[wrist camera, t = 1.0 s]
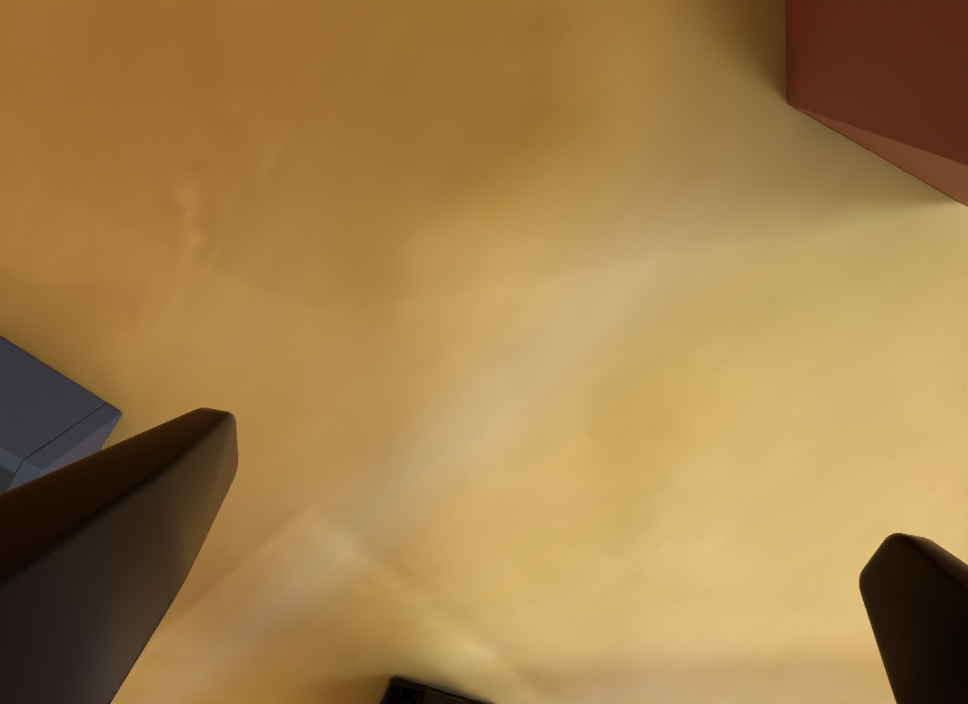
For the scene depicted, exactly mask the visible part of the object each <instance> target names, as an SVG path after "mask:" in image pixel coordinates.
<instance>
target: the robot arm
mask: <svg viewBox="0 0 968 704" xmlns="http://www.w3.org/2000/svg"><path fill="white" fill-rule="evenodd" d="M237 466H238V448H237V430H236V420H235V417H234V415H233V414H231V413H230V412H227V411H222V410H216V409H211V408H199V409H196V410H194V411H191V412H189V413H187V414H184V415H182V416H180V417H177V418H175V419H173V420H170V421H168V422H166V423H164V424H161V425H159V426H157V427H154V428H152V429H150V430H147V431H145V432H143V433H140V434H138V435H136V436H134V437H131V438H129V439H127V440H124V441H122V442H120V443H117V444H115V445H113V446H110V447H108V448H106V449H104V450H101V451H99V452H97V453H94V454H92V455H90V456H87V457H85V458H83V459H80V460H78V461H76V462H74V463H71V464H69V465H67V466H64V467H62V468H60V469H57V470H55V471H53V472H50V473H48V474H46V475H44V476H41V477H39V478H37V479H34V480H32V481H30V482H27V483H25V484H23V485H20V486H18V487H16V488H14V489H11V490H9V491H7V492H4V493H2V494H0V704H110V703H111V702H112V700H113V698H114V697H115V695H116V694H117V692H118V690H119V689H120V687H121V685H122V684H123V682H124V680H125V679H126V677H127V676H128V674H129V672H130V671H131V669H132V667H133V666H134V664H135V662H136V661H137V659H138V658H139V656H140V654H141V653H142V651H143V649H144V648H145V646H146V645H147V643H148V641H149V640H150V638H151V636H152V635H153V633H154V631H155V630H156V628H157V627H158V625H159V623H160V622H161V620H162V618H163V617H164V615H165V614H166V612H167V610H168V609H169V607H170V605H171V604H172V602H173V600H174V599H175V597H176V595H177V594H178V592H179V590H180V588H181V587H182V585H183V583H184V582H185V580H186V578H187V576H188V574H189V572H190V570H191V568H192V566H193V564H194V562H195V560H196V557H197V555H198V553H199V551H200V549H201V547H202V545H203V543H204V541H205V538H206V536H207V534H208V532H209V530H210V528H211V526H212V524H213V522H214V519H215V517H216V515H217V513H218V511H219V509H220V507H221V505H222V503H223V500H224V498H225V496H226V494H227V492H228V490H229V488H230V486H231V484H232V481H233V479H234V477H235V474H236V471H237ZM859 587H860V592H861V595H862V598H863V601H864V604H865V608H866V611H867V614H868V617H869V620H870V623H871V626H872V629H873V633H874V636H875V639H876V642H877V645H878V648H879V651H880V654H881V658H882V661H883V664H884V667H885V670H886V673H887V676H888V679H889V683H890V686H891V688H892V691H893V694H894V697H895V700H896V703H897V704H968V565H967V564H965V563H964V562H962V561H961V560H960V559H958V558H957V557H955V556H954V555H952V554H951V553H949V552H948V551H946V550H945V549H943V548H942V547H940V546H939V545H937V544H936V543H934V542H933V541H931V540H929V539H927V538H924V537H919V536H914V535H908V534H903V533H894V534H892V535H890V536H888V537H887V538H886V539H885V540H884V541H883V543H882V544H881V545H880V547H879V548H878V549H877V551H876V552H875V553H874V555H873V556H872V557H871V559H870V560H869V562H868V563H867V564H866V566H865V567H864V568H863V570H862V572H861V574H860V578H859ZM379 704H484V703H481V702H478V701H474V700H471V699H468V698H464V697H461V696H458V695H454V694H451V693H448V692H445V691H441V690H438V689H435V688H431V687H428V686H425V685H422V684H418V683H415V682H412V681H408V680H405V679H402V678H397V677H396V678H392V679H390V680H389V682H388V684H387V686H386V689H385V691H384V693H383V695H382V697H381V700H380V702H379Z"/></svg>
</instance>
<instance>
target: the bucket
mask: <svg viewBox="0 0 968 704" xmlns="http://www.w3.org/2000/svg"><path fill="white" fill-rule="evenodd" d="M785 1H786V49H787V97H788V104H789V105H791V106H792V107H794V108H796V109H798V110H799V111H801V112H803V113H804V114H806V115H808V116H810V117H811V118H813V119H815V120H817V121H818V122H820V123H822V124H824V125H825V126H827V127H829V128H831V129H832V130H834V131H836V132H838V133H839V134H841V135H843V136H845V137H846V138H848V139H850V140H852V141H853V142H855V143H857V144H859V145H860V146H862V147H864V148H865V149H867V150H869V151H871V152H872V153H874V154H876V155H878V156H879V157H881V158H883V159H885V160H886V161H888V162H890V163H892V164H893V165H895V166H897V167H899V168H900V169H902V170H904V171H906V172H907V173H909V174H911V175H913V176H914V177H916V178H918V179H919V180H921V181H923V182H925V183H926V184H928V185H930V186H932V187H933V188H935V189H937V190H939V191H940V192H942V193H944V194H946V195H947V196H949V197H951V198H953V199H954V200H956V201H958V202H960V203H961V204H963V205H966V206H968V0H785Z"/></svg>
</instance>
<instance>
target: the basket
mask: <svg viewBox="0 0 968 704" xmlns="http://www.w3.org/2000/svg"><path fill="white" fill-rule="evenodd" d="M121 414H122V413H121V412H120V411H118V410H117V409H115V408H113V407H112V406H110V405H109V404H105V402H104V401H103V400H101V399H99V398H98V397H96V396H94V395H93V394H91V393H90V392H88V391H86V390H85V389H83V388H82V387H80V386H78V385H77V384H75V383H74V382H72V381H70V380H69V379H67V378H66V377H64V376H62V375H61V374H59V373H58V372H56V371H54V370H53V369H51V368H50V367H48V366H46V365H45V364H43V363H42V362H40V361H38V360H37V359H35V358H34V357H32V356H30V355H29V354H27V353H26V352H24V351H22V350H21V349H19V348H18V347H16V346H14V345H13V344H11V343H10V342H8V341H6V340H5V339H3V338H2V337H0V494H2V493H4V492H7V491H9V490H11V489H14V488H16V487H18V486H20V485H23V484H25V483H27V482H30V481H32V480H34V479H37V478H39V477H41V476H44V475H46V474H48V473H50V472H53V471H55V470H57V469H60V468H62V467H64V466H67V465H69V464H71V463H74V462H76V461H78V460H80V459H83V458H85V457H87V456H90V455H92V454H94V453H97V452H99V451H100V449H101V447H102V446H103V444H104V442H105V441H106V439H107V437H108V436H109V434H110V433H111V431H112V429H113V428H114V426H115V424H116V423H117V421H118V419H119V418H120V416H121Z"/></svg>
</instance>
